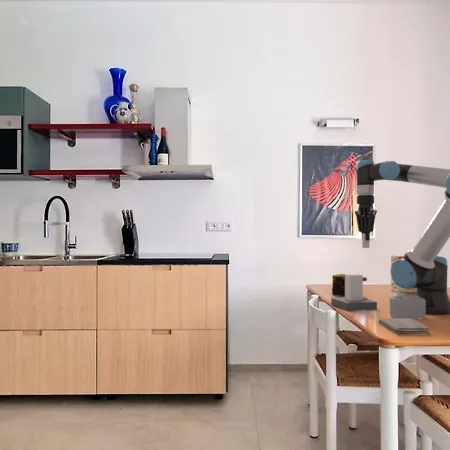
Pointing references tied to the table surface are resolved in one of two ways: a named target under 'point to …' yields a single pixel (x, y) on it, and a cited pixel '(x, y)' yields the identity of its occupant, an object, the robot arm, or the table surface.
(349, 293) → the plug
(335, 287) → the candle
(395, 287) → the coffeecake box
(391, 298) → the lumpy-topped squat cylinder
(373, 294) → the table surface
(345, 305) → the socket
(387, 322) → the washcloth
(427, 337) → the table surface
